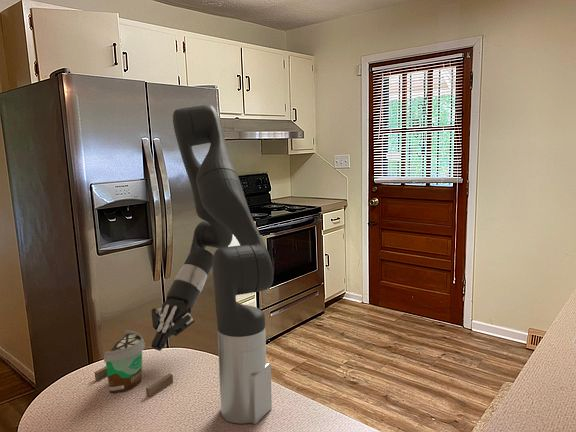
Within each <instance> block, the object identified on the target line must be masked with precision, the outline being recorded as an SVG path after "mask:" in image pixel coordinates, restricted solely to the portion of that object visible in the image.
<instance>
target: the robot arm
mask: <svg viewBox="0 0 576 432" xmlns="http://www.w3.org/2000/svg"><path fill="white" fill-rule="evenodd" d="M172 124H173V131H174V134H175V138H176V141H177V145H178V150H179V153H180V156H181V158H182V159H181V160H182V162H183V166H184V169H185V171H186V175H187V177H188V181H189V184H190V187H191V191H192V196H193V202H194V207H195V212H196V216H197V217H198V218H200V219H201V220H202V221H200V222H199V223H198V224H197V225H196V227H195V229H194V231H193V237H192V242H191V246H190V249H189V250H190V251H189V253H188V255H187V257H186V258H185V261H184V263H183V265H182V267H181V268H180V269H179V271H178V273H177V274H176V276H175V278H174V280H173V282H172V284H171V285H170V287H169V288H168V291H167V293H166V299H165V301H164V302H163V303H162V304H161V307H159V308H156V307H154V308H153V307H152V309H151V319H152V320H151V322H152V327H153V329H154V330H155V331H156V333H155V336H154V337H153V339H152V342H151V348H152V349H153V350H155V351H159V352H160V351H162V350H163V349H164V348H165V346H166V343H167V342H168V340H169V338H170V337H172V336H175V337H176V336H179V335H180V333H182V332H183V331H185V330H186V329H188V328H189V327H190V326H191V325H192V324H194V323H195V318H193V317H192V315H191V312H192V309H193V308H194V307H195V305H196V303H197V301H198V298H199V297H200V295H201V292H202V291H203V289H204V286H205V285H206V284H205V283H206V282H207V279H208V275H210V272H211V269H212V279H213V287H214V299H215V300H214V301H215V312H216V313H215V314H216V322H217V323H216V325H217V344H218V345H217V347H218V348H217V350H218V351H217V352H218V370H219V394H220V412H221V413H220V414H221V417H222V418H223V419H225V420H226V421H227V422H230V423H233V424H254V425H256V424H257V423H259V421H261V420H262V419H263V418H264V417H265V416H266V415H267V414H268V413H269V411H271V409H272V408H273V407H272V405H273V403H272V402H273V401H272V370H271V369H272V366H271V365H272V364H271V363H270V362H267V344H266V343H267V341H266V338H267V337H266V333H267V332H266V314H265V313H264V311H263V310H261V309H260V308H258V307H256V306H253V305H248V304H244V303H243V304H242V303H239V302H238V301H237V299H236V298H237V297H236V296H240V295H241V296H242V295H246V294H253V293H258V292H264V291H267V290H268V289H270V288H271V287H272V285H273V282H274V274H275V273H274V267H273V266H274V265H273V263H272V258H271V256H270V253H269V250H268V248H267V246H266V243H265V241H264V240H263V238H262V235H261V233H260V231H259V228H258V227H257V224H256V223H255V221H254V219H253V216H252V214H251V210H250V209H249V206H248V202H247V199H246V196H245V193H244V189H243V186H242V184H241V181H240V178H239V175H238V173H237V170H236V168H235V165H234V162H233V159H232V158H231V155H230V152H229V149H228V146H227V143H226V139H225V135H224V130H223V126H222V124H221V120H220V116H219V114H218V112H217V110H216V108H215V107H214V106H213V105H210V104H201V105H195V106H188V107H181V108H177V109H175V110H174V111H173V114H172ZM207 144H210V146H209V149H208V151H207V154H206V156H205V157H204V159H203V160H202V163H200V161H199V160H198V159H197V157H196V155H195V153H194V151H193V147H194V146H200V145H207ZM233 236H234V237H235V239H236V241H238V242H237V243H238V244H239V245H234V246H233V245H232V246H231V243H232V241H233ZM207 247H211V248H215V249H216V250H215V251H214V254H213V253H212V252H210V251H208V250H207V249H206V248H207Z"/></svg>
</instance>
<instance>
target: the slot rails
mask: <svg viewBox="0 0 576 432" xmlns="http://www.w3.org/2000/svg"><path fill="white" fill-rule="evenodd" d="M94 378H95V380H94V381H96V382H99V381H102V380H104V379H105V378H108V375H107V368H106V365H105V366H103V367H102V368H99V369H98V370H95V371H94ZM173 383H174V375H173V374H172V373H167V374H166V375H164V376H163V377H161V378H159V379H158V380H157V381H155V382H153V383H152V384H150V385H148V386H146V388H145V394H146V395H145V396H146V398H148V399H151V398H152V397H154V396H155V395H157V394H159V393H160V392H162V390H163V391H164V389H166V388H168V387H170V385H173Z"/></svg>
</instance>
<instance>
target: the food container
mask: <svg viewBox="0 0 576 432" xmlns="http://www.w3.org/2000/svg"><path fill="white" fill-rule="evenodd" d="M124 331H125V333H124V334H125V335H124V336H122V338H121V339H120V340H117V342H115V344H114V345H113V347H112V348H111V349H110V350H109V351H108V350H107V351H104V359H103V362H104V363H105V366H106V368H107V375H108V376H107V381H108V388H109V394H110V395H115V394H116V395H117V394H120V393H125V392H128V391H131V390H133V389H134V388H137V387H138V386H139V385H140V384H141V382H142V379H143V375H142V374H143V350H144V349H145V347H146V343H145V341H144V338H143V336H142V334H141V333H140V332H138V331H133V330H124Z"/></svg>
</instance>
